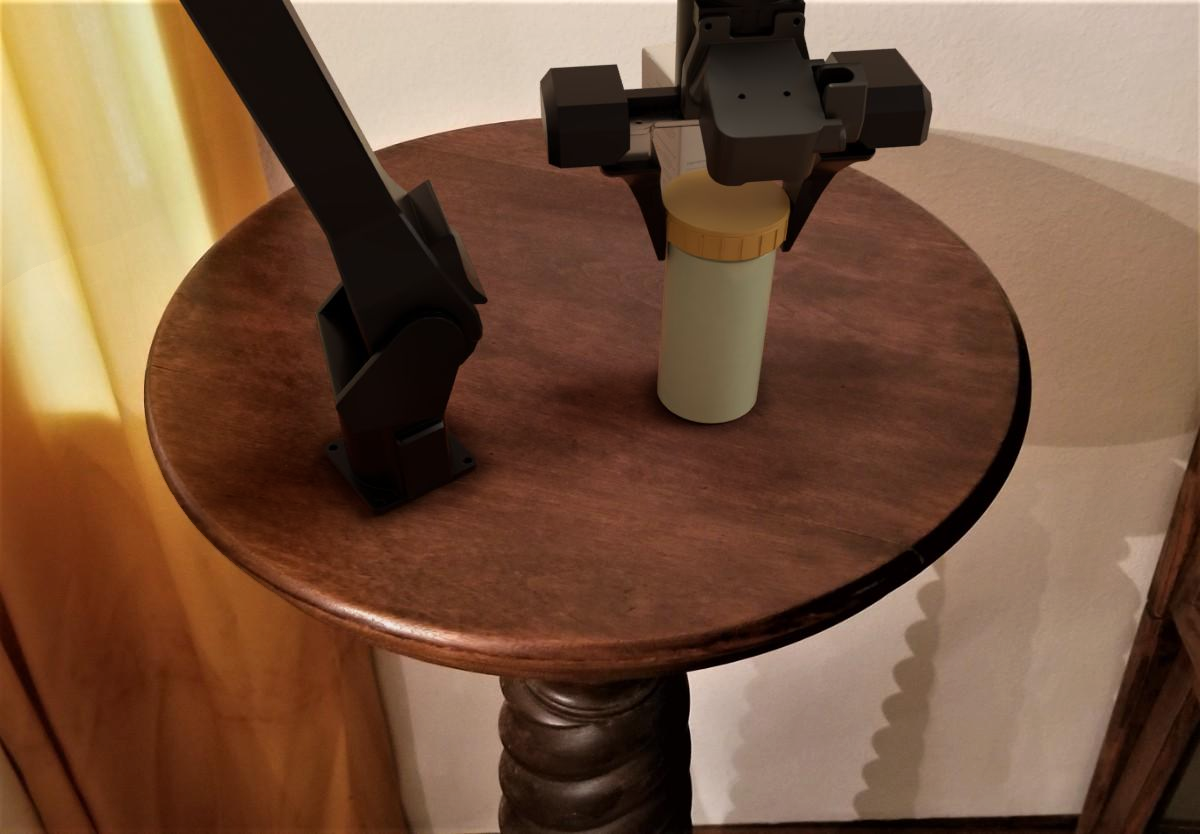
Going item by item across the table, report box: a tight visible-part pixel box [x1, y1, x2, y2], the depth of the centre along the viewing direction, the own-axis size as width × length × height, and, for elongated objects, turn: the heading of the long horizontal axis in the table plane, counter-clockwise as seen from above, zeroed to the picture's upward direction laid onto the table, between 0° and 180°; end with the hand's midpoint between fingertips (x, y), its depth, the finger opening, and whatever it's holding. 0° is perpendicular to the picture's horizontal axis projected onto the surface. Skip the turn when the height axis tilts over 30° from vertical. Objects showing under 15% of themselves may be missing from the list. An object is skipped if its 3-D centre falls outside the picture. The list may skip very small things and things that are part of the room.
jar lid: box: [662, 169, 791, 261], centre depth 61 cm, size 7×7×2 cm
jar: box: [656, 240, 778, 424], centre depth 65 cm, size 6×6×12 cm
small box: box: [641, 41, 707, 193], centre depth 83 cm, size 8×6×10 cm
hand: (721, 252), depth 62 cm, fingers closed on jar lid, 6 cm apart
